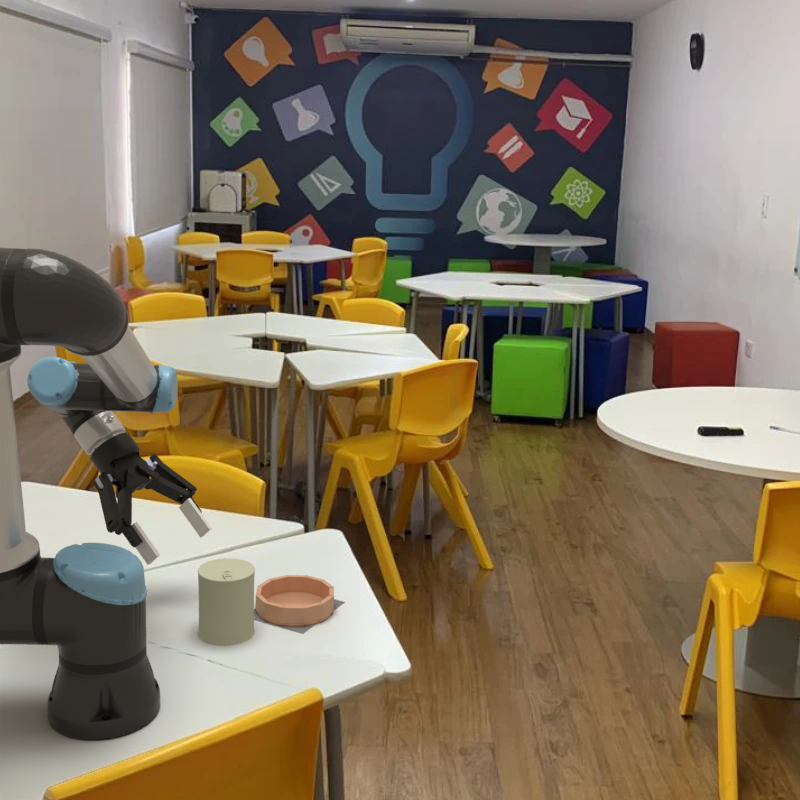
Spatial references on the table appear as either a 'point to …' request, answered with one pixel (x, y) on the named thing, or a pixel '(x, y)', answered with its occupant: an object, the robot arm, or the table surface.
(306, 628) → the mat
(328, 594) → the bowl
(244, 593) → the can
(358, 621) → the table surface
